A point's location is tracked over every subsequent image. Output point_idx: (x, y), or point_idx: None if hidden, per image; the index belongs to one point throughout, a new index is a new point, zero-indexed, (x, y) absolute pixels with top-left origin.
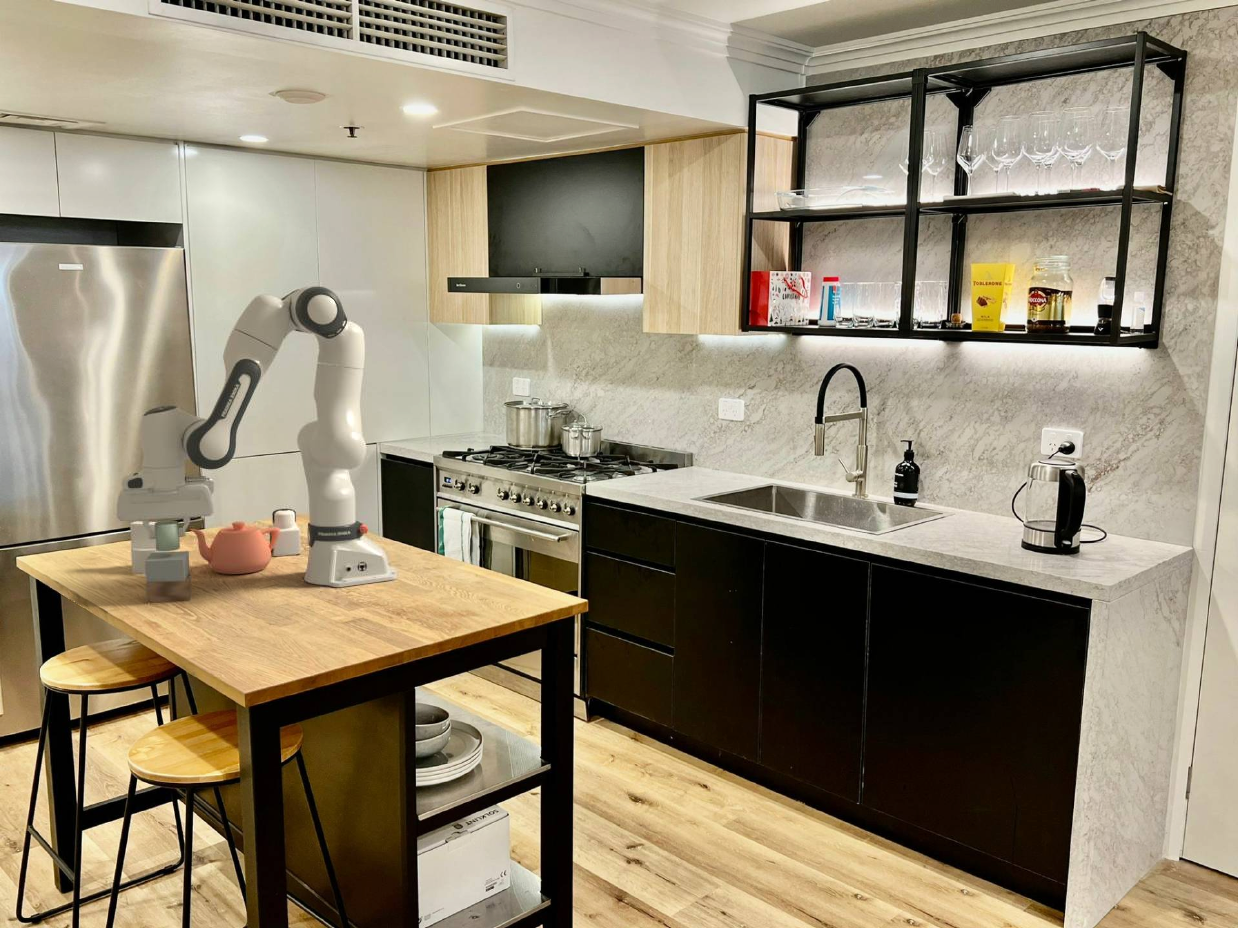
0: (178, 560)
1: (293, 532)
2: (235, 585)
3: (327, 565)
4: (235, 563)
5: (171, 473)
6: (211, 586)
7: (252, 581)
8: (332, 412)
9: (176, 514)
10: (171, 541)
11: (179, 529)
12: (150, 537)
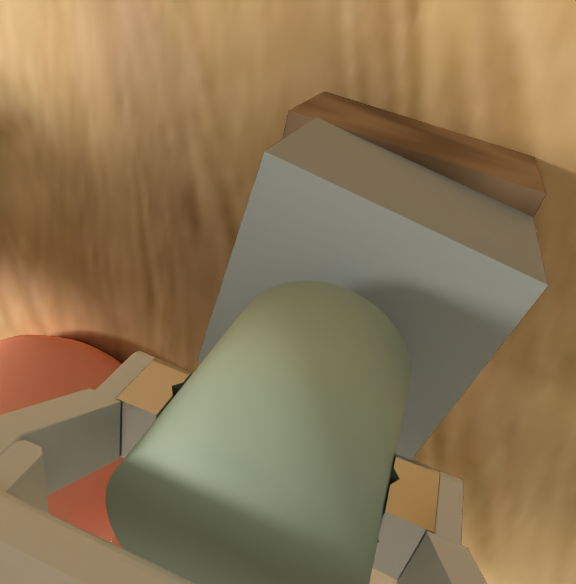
0: (300, 166)
1: None
2: (116, 226)
3: None
4: (73, 362)
5: None
6: (199, 270)
7: (59, 241)
8: None
9: (22, 563)
10: (279, 323)
11: (147, 420)
12: (446, 477)
